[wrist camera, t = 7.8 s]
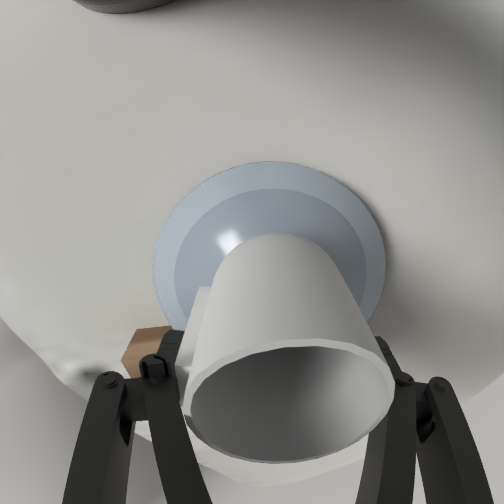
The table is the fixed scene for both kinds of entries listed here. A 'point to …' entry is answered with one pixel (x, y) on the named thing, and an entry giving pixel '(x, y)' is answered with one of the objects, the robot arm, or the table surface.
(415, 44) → the table surface
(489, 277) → the table surface
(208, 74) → the table surface
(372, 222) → the dish
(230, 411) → the cup
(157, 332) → the walnut block
